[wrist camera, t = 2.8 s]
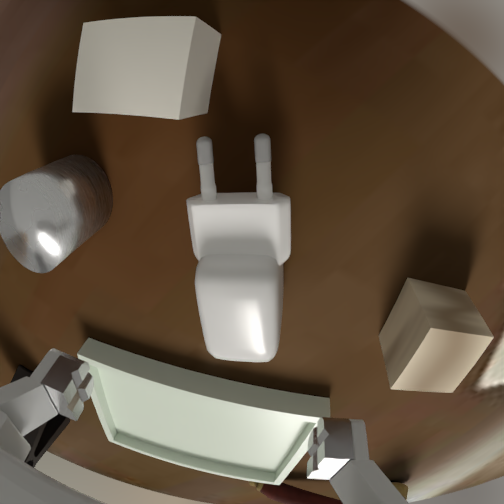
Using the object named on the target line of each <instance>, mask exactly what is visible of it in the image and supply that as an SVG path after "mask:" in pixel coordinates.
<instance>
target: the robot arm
mask: <svg viewBox="0 0 504 504" xmlns="http://www.w3.org/2000/svg"><path fill="white" fill-rule="evenodd" d="M89 370H90V366H89V364H88V362H85V361H83V360H80V359H78V358H75V357H73V356H70V355H68V354H66V353H64V352H61V351H59V350H56V349H54V348H53V349H51V350H49V352H48V353H47V354H46V356H45V357H44V358H43V360H42V361H41V362H40V364H39V365H38V366H37V368H36V369H35V370H34V372H33V373H32V375H31V376H30V377H27V376H26V377H24V378H21V379H19V380H17V381H14V382H12V383H10V384H8V385H5V386H3V387H1V388H0V504H106V503H104V502H101V501H99V500H97V499H94V498H92V497H90V496H87V495H85V494H83V493H81V492H79V491H76V490H75V489H72V488H70V487H68V486H66V485H64V484H62V483H60V482H58V481H57V480H55V479H53V478H51V477H49V476H47V475H45V474H43V473H42V472H40V471H38V470H36V469H35V468H33V467H32V466H30V465H28V464H27V463H25V462H24V461H25V459H26V457H27V455H28V453H29V451H30V449H31V447H30V444H29V443H28V442H27V441H26V440H25V438H24V437H23V436H24V435H26V434H28V433H29V432H31V431H32V430H34V429H36V428H37V427H39V426H40V425H42V424H44V423H45V422H47V421H48V420H50V419H52V418H53V417H55V416H56V415H58V413H59V414H61V415H63V416H66V417H68V418H70V419H73V420H75V421H77V420H78V418H79V416H80V414H81V412H82V411H83V409H84V406H83V402H84V401H86V400H88V399H89V398H90V396H91V394H92V391H93V387H94V380H93V376H92V375H91V374H90V373H89V372H88V371H89ZM308 453H309V454H310V456H311V458H310V459H309V461H308V462H307V478H311V479H325V480H330V483H331V484H332V486H333V488H334V489H335V491H336V493H337V494H338V496H339V498H340V499H341V501H342V503H343V504H408V502H407V501H406V500H405V498H404V497H403V496H402V495H401V494H400V492H399V491H398V490H397V489H396V488H395V486H394V485H393V484H392V483H391V482H390V480H389V479H388V478H387V477H386V475H385V474H384V473H383V472H382V471H381V469H380V468H379V467H378V466H377V464H376V463H375V462H374V461H373V460H369V453H368V444H367V436H366V428H365V423H364V421H363V420H356V419H344V418H329V417H321V418H320V419H319V420H318V422H317V427H315V428H313V430H312V431H311V433H310V436H309V440H308Z"/></svg>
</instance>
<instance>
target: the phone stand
mask: <svg viewBox="0 0 504 504" xmlns="http://www.w3.org/2000/svg"><path fill="white" fill-rule="evenodd" d="M31 375H32V372H31V371H29V370H28V369H26V368H24V367H23V366H21V365H19V366H18V368H17V370H16V372H15V374H14V377H13V379H12V381H11V383H12V382H14V381H17V380H19V379H21V378H24V377H26V376H27V377H30V376H31ZM69 422H70V419H69V418H68V417H66V416H63V415H61V414H59V413H58V415H56V416H55V417H53V418H52V419H50V420H48V421H47V422H45V423H44V424H42V425H40V426H39V427H37V428H36V429H34V430H32V431H31V432H29V433H28V434H26V435H24V436H23V437H24V438H25V440H26V441H27V442H28V443H29V444H30V447H31V449H30V451H29V453H28V455H27V457H26V459H25V461H24V462H25V463H27V464H28V465H30V466H32V467H33V468H34V467H35V465H36V463H37V462H38V461H39V459H40V458H41V457H42V456H43V454H44V453H45V452H46V451H47V450H48V448H49V447H50V446H51V445H52V443H53V442H54V441H55V440H56V438H57V437H58V436H59V435H60V434H61V432H62V431H63V430H64V429H65V428H66V426H67V425H68V424H69Z"/></svg>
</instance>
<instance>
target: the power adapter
mask: <svg viewBox="0 0 504 504" xmlns="http://www.w3.org/2000/svg"><path fill="white" fill-rule="evenodd" d="M196 146H197V156H198V164H199V169H200V179H201V194H199V195H197V196H194V197H191V198H188V199H187V200H186V202H187V210H188V217H189V224H190V231H191V238H192V245H193V251H194V255H195V256H196V258H197V259H198V261H199V263H198V265H197V267H196V275H195V288H196V297H197V303H198V309H199V314H200V319H201V325H202V330H203V335H204V339H205V343H206V347H207V351H208V352H209V353H210V354H211V355H212V356H213V357H215V358H217V359H223V360H231V361H245V362H268V361H270V360H271V359H273V358H274V356H275V355H276V352H277V350H278V345H279V339H280V330H281V320H282V308H283V263H284V262H285V261H286V260H287V259H288V258H289V256H290V253H291V203H290V197H289V196H286V195H284V194H282V193H273V190H272V183H271V140H270V137H269V136H268V135H267V134H258V135H256V136H255V138H254V148H255V162H256V172H257V184H256V188H257V192H234V193H217V192H216V184H215V179H214V168H213V163H214V159H213V148H212V140H211V139H210V138H209V137H201V138H199V139H198V140H197V142H196Z"/></svg>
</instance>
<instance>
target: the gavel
mask: <svg viewBox="0 0 504 504" xmlns="http://www.w3.org/2000/svg"><path fill="white" fill-rule="evenodd" d="M391 483H392V484H393V485H394V486H395V488H396V489H397V490H398V491H399V492H400V494H401V495H402V496H403V497H404V498H405V500H406V499H407V492H408V487H407V486H406V485H405V484H402V483H397V482H391ZM249 484H250V485H251V486H256V489H257V490H258V491H260V492H262V493H263V494H264V495H266V496H267V497H268V498H270V499H272V500H275V501H278V502H281V503H284V504H343V503H342V501H341V500H337V499H334V498H330V497H326V496H323V495H319V494H316V493H312V492H309V491H306V490H303V489H299V488H296V487H293V486H290V485H287V484H285V483H281V484H280V485H273V484H266V483H259V482H253V481H249Z"/></svg>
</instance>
